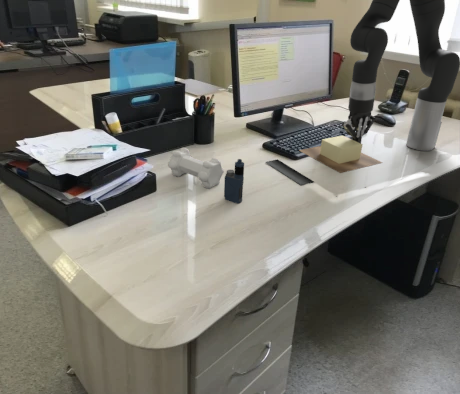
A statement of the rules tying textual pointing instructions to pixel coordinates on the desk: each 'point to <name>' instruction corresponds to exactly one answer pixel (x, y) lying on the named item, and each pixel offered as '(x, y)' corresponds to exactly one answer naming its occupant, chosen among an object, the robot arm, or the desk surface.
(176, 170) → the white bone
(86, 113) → the desk surface
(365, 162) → the brown cloth
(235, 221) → the desk surface
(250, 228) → the desk surface
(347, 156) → the memo block
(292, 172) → the mat
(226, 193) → the vaping device
